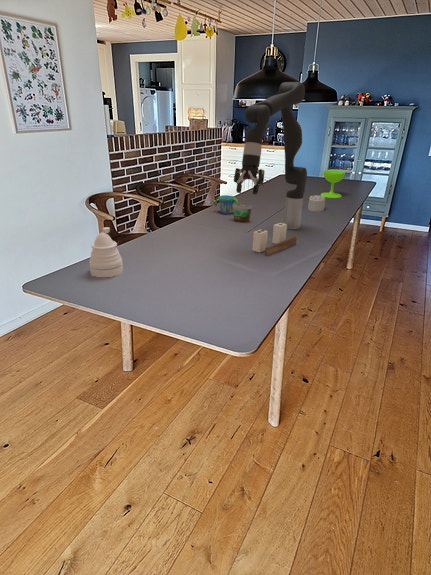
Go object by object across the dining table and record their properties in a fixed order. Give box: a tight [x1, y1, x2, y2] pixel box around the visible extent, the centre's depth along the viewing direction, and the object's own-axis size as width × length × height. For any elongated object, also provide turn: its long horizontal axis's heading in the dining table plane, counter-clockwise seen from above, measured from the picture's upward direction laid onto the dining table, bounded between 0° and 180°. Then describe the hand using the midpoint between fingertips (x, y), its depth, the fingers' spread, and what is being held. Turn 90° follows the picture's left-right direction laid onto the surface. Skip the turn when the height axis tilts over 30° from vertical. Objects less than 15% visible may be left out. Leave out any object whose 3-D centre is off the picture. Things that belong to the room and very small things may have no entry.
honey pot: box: [88, 226, 124, 277], centre depth 155 cm, size 13×13×18 cm
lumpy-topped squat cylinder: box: [307, 194, 327, 212], centre depth 259 cm, size 10×13×9 cm
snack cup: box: [214, 194, 239, 215], centre depth 246 cm, size 16×10×10 cm
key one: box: [271, 222, 288, 244], centre depth 190 cm, size 4×6×9 cm
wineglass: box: [320, 169, 346, 199], centre depth 298 cm, size 16×16×18 cm
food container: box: [232, 202, 253, 223], centre depth 229 cm, size 12×6×10 cm, turn 62°
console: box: [264, 235, 297, 257], centre depth 186 cm, size 15×24×5 cm, turn 138°
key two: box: [252, 228, 269, 253], centre depth 180 cm, size 4×6×9 cm
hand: (246, 193), depth 169 cm, fingers open, 8 cm apart
